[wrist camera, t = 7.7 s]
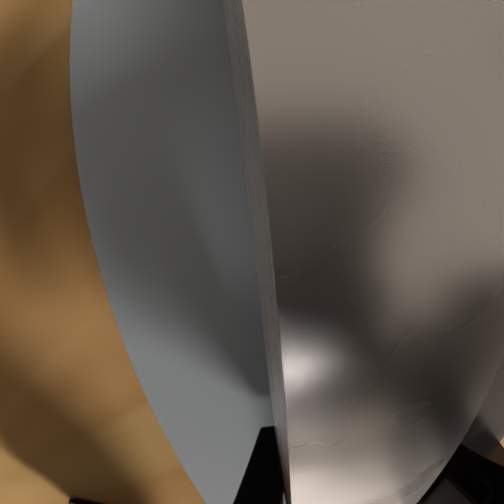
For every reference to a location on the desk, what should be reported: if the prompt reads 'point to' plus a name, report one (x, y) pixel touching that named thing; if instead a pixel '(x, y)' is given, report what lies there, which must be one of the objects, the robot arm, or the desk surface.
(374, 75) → the rail
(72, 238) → the desk surface
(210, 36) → the mat
